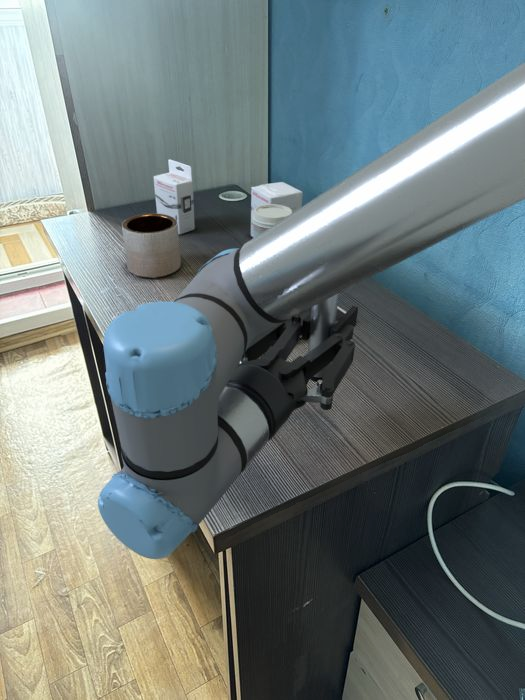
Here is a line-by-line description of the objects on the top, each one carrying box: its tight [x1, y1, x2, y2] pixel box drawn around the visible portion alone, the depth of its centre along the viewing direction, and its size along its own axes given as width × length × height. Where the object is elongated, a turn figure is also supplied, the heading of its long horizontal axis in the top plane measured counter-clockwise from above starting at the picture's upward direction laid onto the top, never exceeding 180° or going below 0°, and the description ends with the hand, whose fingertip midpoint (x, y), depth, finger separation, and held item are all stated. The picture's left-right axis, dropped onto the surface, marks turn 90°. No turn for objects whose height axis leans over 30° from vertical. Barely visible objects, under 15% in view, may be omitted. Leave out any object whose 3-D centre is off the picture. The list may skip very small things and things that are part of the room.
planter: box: [121, 212, 182, 279], centre depth 104 cm, size 11×11×10 cm
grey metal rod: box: [307, 293, 340, 383], centre depth 63 cm, size 3×3×13 cm
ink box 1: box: [153, 158, 196, 235], centre depth 120 cm, size 8×5×15 cm, turn 47°
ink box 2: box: [250, 181, 303, 239], centre depth 116 cm, size 8×8×12 cm
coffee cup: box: [250, 204, 292, 237], centre depth 105 cm, size 9×9×12 cm
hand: (340, 311), depth 67 cm, fingers closed on grey metal rod, 3 cm apart
